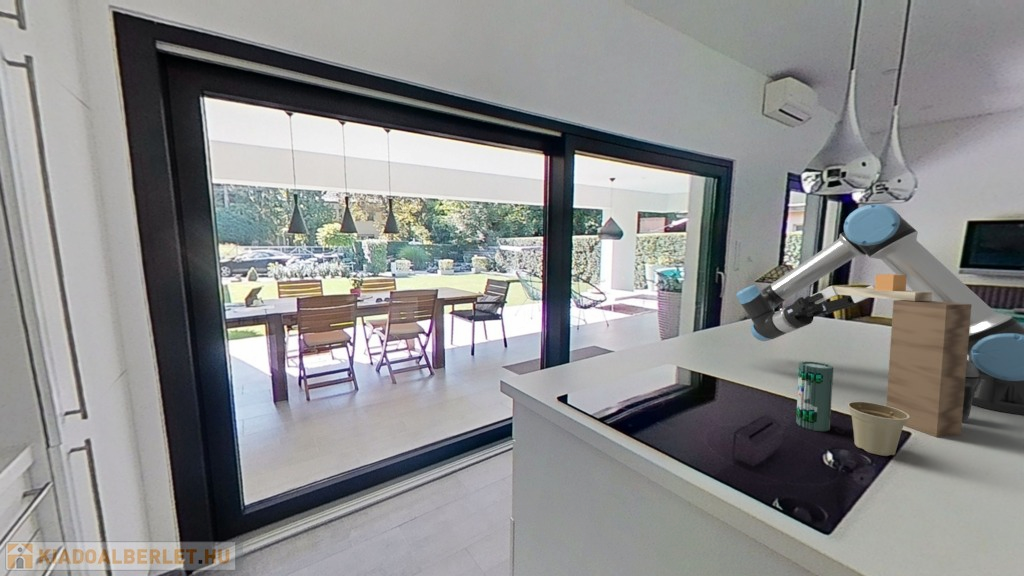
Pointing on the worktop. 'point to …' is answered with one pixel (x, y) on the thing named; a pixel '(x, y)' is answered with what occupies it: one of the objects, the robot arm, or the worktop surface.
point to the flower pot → (877, 427)
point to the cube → (890, 282)
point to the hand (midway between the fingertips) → (855, 289)
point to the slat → (885, 293)
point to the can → (814, 396)
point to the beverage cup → (969, 389)
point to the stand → (929, 364)
